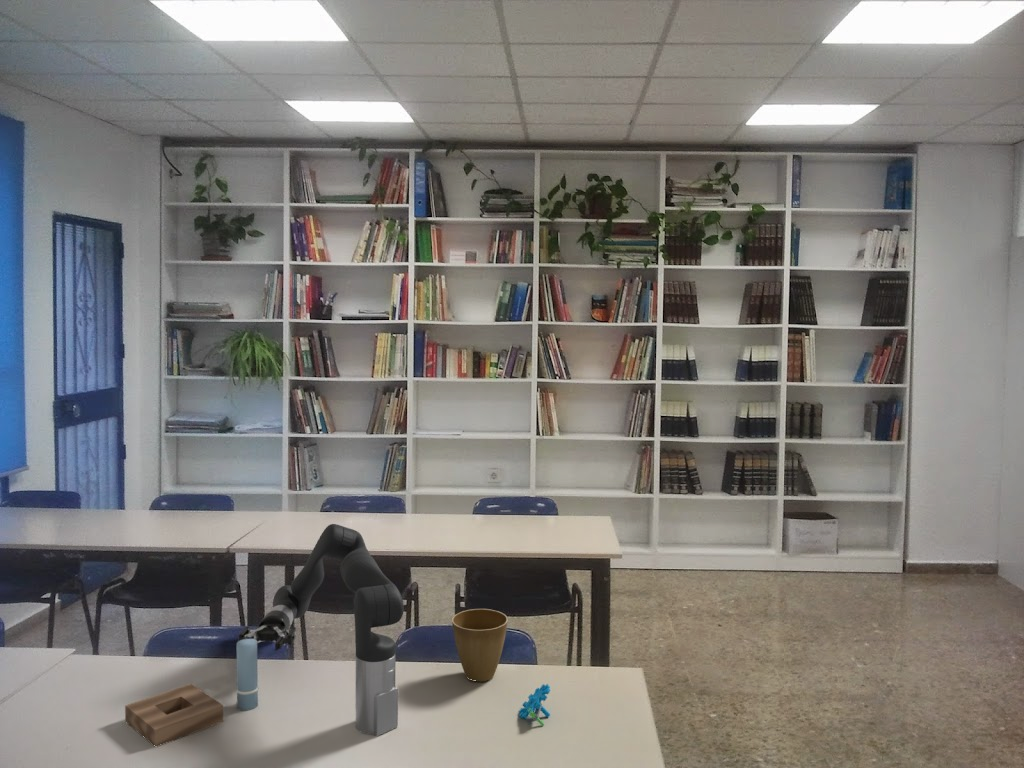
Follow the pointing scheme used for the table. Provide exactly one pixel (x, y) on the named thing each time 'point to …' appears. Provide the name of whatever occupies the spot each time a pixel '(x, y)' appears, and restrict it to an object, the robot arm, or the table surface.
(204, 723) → the socket block
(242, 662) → the peg
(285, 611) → the robot arm
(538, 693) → the blue green construction toy
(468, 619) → the plant pot
